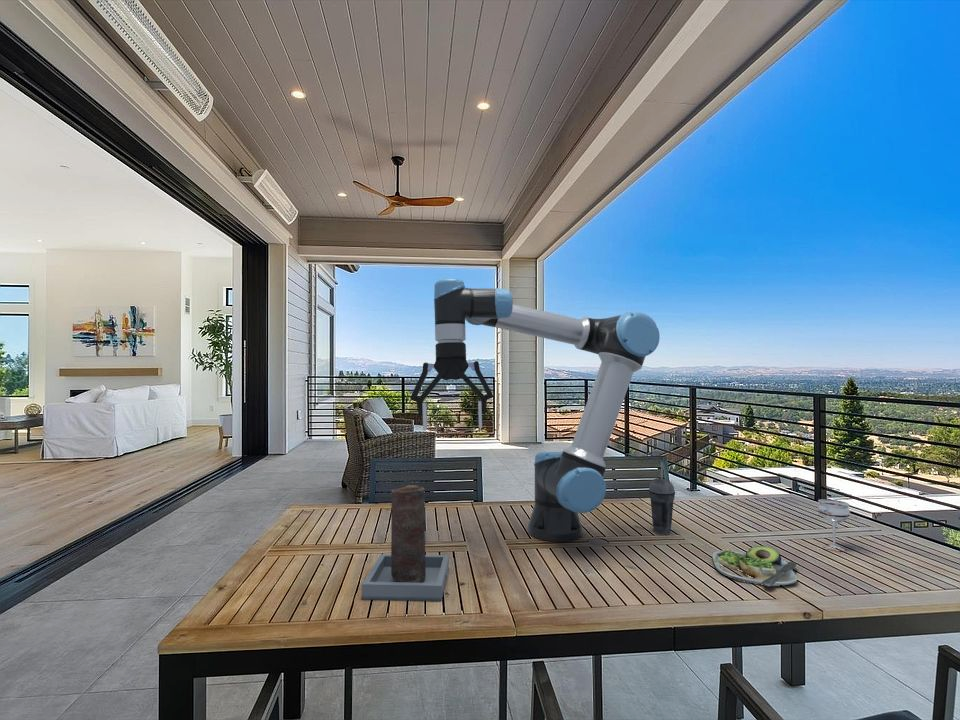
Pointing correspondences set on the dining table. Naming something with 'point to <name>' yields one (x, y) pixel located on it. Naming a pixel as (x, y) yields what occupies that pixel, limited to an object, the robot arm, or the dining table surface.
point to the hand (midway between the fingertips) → (452, 428)
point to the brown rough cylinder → (408, 534)
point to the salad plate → (757, 566)
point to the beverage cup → (662, 504)
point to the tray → (387, 588)
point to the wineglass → (834, 513)
